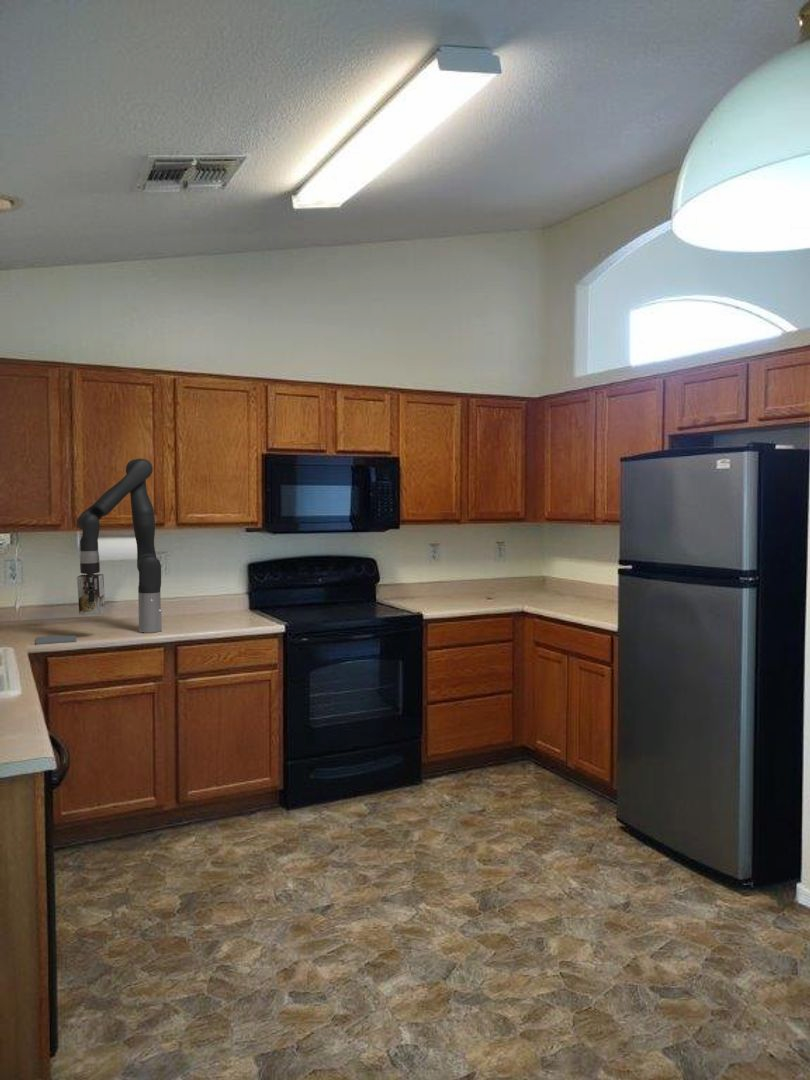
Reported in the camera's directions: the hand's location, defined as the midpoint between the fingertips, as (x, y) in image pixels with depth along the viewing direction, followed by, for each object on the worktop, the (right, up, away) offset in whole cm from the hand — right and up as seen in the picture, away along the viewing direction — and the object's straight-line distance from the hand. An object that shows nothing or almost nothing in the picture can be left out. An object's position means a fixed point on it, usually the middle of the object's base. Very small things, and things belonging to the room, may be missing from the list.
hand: (91, 600), depth 326 cm
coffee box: (0, -6, 0) cm, 6 cm away
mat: (-13, -16, -4) cm, 21 cm away
